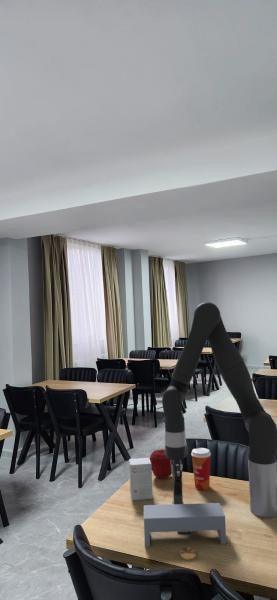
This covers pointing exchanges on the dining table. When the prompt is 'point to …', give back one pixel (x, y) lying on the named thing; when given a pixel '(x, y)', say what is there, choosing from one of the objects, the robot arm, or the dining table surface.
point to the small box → (140, 479)
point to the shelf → (184, 519)
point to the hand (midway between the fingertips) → (177, 492)
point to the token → (187, 553)
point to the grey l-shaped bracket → (178, 500)
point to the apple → (160, 464)
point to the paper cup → (201, 468)
